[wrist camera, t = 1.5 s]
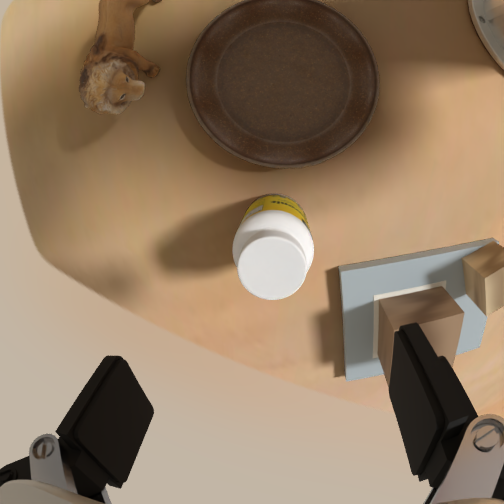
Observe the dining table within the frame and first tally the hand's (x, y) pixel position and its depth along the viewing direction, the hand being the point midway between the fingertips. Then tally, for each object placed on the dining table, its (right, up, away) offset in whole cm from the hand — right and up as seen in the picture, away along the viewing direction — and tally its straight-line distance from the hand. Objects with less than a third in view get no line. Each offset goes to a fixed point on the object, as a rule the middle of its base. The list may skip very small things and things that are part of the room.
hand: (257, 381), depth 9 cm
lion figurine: (-10, +22, +12) cm, 27 cm away
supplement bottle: (+2, +7, +17) cm, 18 cm away
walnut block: (+16, -3, +18) cm, 24 cm away
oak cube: (+23, +3, +15) cm, 28 cm away
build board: (+18, -2, +19) cm, 26 cm away
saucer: (+2, +18, +13) cm, 22 cm away
